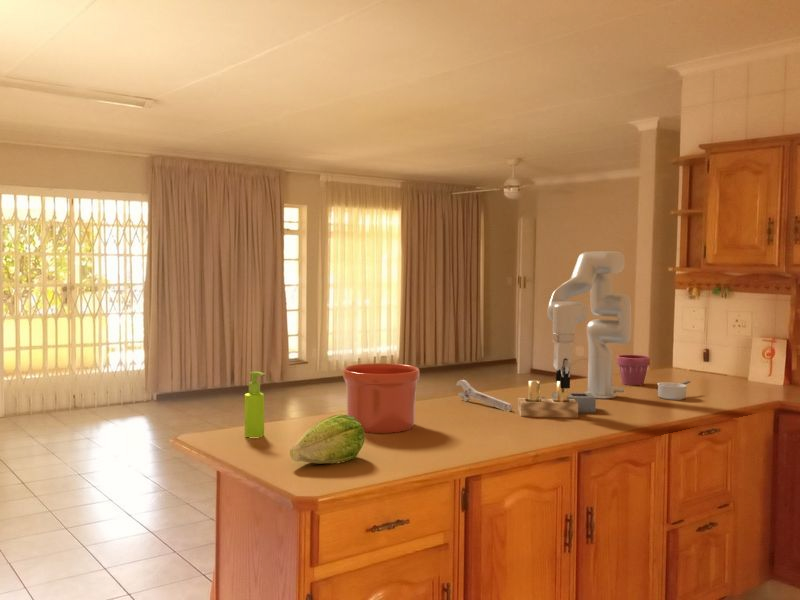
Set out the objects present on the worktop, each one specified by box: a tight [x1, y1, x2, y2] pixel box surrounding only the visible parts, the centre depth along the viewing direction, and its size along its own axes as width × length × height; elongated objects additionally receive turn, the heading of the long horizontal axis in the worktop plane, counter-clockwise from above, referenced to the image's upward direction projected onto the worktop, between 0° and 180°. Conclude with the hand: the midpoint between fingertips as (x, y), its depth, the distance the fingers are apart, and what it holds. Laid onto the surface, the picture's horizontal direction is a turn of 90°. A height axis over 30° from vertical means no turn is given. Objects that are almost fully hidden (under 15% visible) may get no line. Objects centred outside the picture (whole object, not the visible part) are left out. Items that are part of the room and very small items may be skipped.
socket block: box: [551, 391, 597, 414], centre depth 264 cm, size 14×10×6 cm
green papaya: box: [289, 414, 365, 465], centre depth 190 cm, size 13×22×14 cm
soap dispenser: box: [244, 371, 267, 437], centre depth 217 cm, size 6×7×20 cm
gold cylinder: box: [555, 381, 569, 403], centre depth 254 cm, size 4×4×12 cm
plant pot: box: [616, 354, 651, 386], centre depth 322 cm, size 14×14×13 cm
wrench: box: [455, 379, 514, 413], centre depth 271 cm, size 8×2×30 cm
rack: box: [517, 397, 579, 418], centre depth 255 cm, size 20×8×5 cm, turn 87°
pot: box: [342, 362, 420, 434], centre depth 233 cm, size 25×25×19 cm
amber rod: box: [527, 379, 541, 402], centre depth 255 cm, size 4×4×12 cm
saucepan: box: [657, 380, 691, 401], centre depth 292 cm, size 12×20×6 cm, turn 132°
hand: (562, 385), depth 254 cm, fingers open, 9 cm apart
